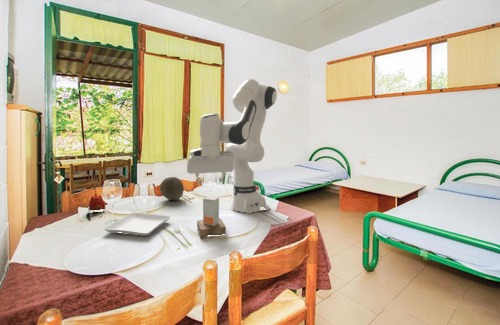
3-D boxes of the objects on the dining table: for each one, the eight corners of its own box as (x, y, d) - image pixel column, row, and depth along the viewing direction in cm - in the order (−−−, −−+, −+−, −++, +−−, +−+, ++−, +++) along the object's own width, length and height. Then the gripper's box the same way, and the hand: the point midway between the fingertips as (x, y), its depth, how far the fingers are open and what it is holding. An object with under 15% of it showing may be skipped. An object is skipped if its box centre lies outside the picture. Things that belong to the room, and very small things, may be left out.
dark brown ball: (174, 196, 174) (173, 174, 172) (188, 199, 166) (188, 177, 164) (156, 200, 163) (155, 177, 161) (170, 205, 155) (169, 180, 153)
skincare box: (202, 224, 115) (202, 198, 114) (208, 221, 119) (208, 195, 118) (214, 226, 113) (214, 200, 111) (219, 223, 117) (219, 197, 115)
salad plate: (147, 240, 108) (147, 232, 108) (103, 235, 112) (102, 228, 111) (171, 222, 129) (171, 215, 128) (133, 218, 132) (132, 212, 132)
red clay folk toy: (90, 215, 136) (88, 187, 134) (88, 211, 141) (86, 184, 139) (106, 212, 140) (105, 185, 138) (104, 208, 146) (102, 183, 144)
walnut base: (220, 226, 124) (220, 218, 123) (225, 235, 113) (225, 226, 113) (197, 228, 120) (197, 220, 120) (200, 238, 110) (200, 229, 109)
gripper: (231, 150, 118) (231, 179, 120) (186, 151, 112) (186, 182, 114) (235, 151, 112) (235, 182, 114) (187, 152, 106) (188, 185, 108)
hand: (210, 182), depth 114 cm, fingers open, 8 cm apart
